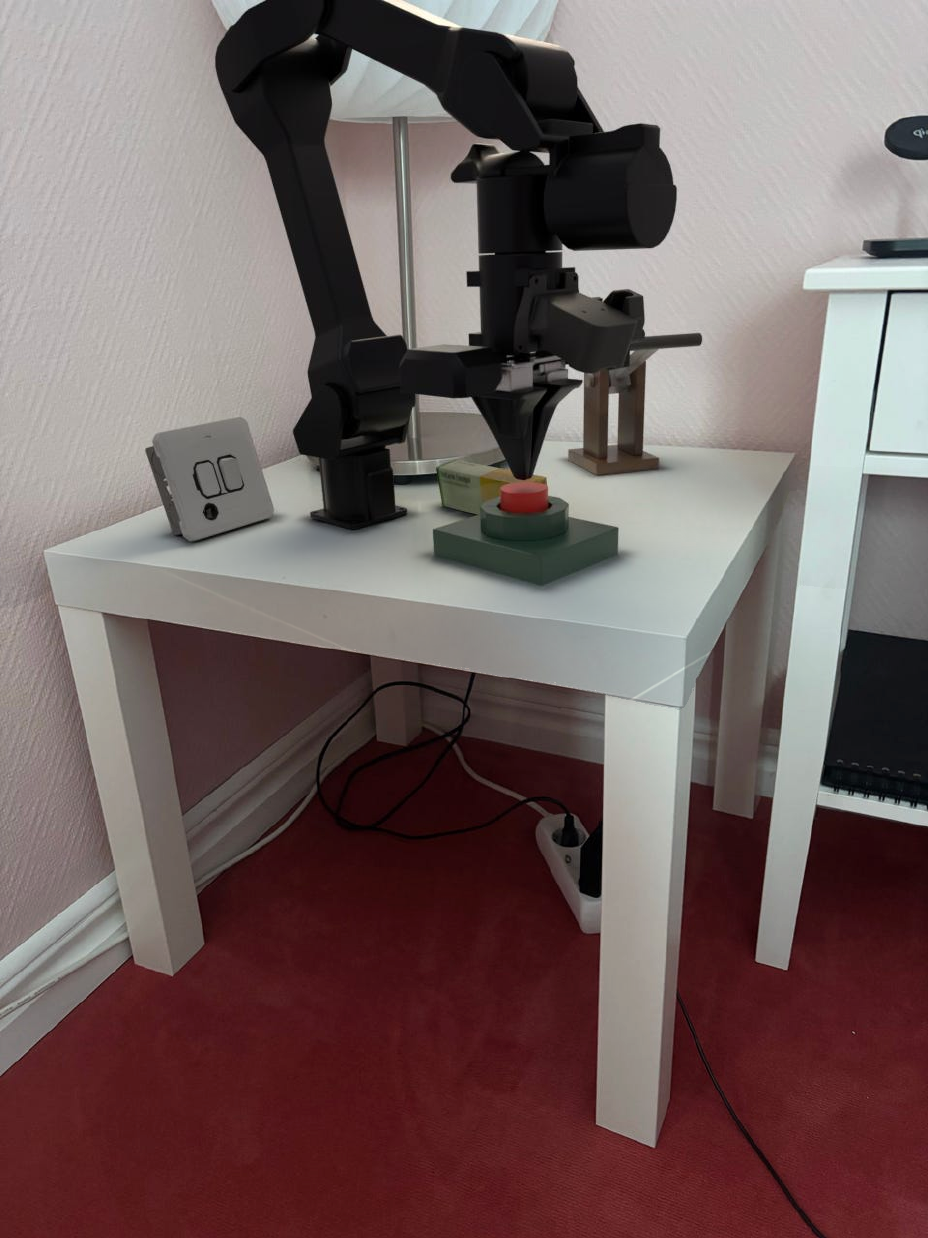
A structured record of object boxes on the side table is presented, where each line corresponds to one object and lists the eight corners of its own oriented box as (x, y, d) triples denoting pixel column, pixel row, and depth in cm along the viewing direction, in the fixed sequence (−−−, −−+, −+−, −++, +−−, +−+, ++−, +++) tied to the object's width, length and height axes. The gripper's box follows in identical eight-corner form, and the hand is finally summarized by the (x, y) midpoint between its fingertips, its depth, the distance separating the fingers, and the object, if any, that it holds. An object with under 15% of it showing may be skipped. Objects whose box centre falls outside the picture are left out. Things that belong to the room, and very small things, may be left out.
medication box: (439, 508, 84) (433, 466, 82) (461, 499, 85) (455, 458, 84) (531, 530, 75) (526, 483, 74) (553, 520, 77) (549, 474, 75)
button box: (433, 556, 71) (430, 506, 69) (511, 529, 76) (510, 482, 75) (541, 586, 63) (541, 531, 62) (618, 554, 69) (619, 503, 68)
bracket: (659, 468, 94) (663, 362, 90) (596, 475, 93) (598, 366, 89) (626, 454, 102) (629, 354, 97) (568, 460, 100) (568, 358, 96)
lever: (704, 349, 84) (700, 324, 85) (614, 356, 82) (610, 330, 82) (650, 390, 96) (646, 368, 96) (570, 397, 94) (567, 374, 94)
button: (490, 511, 68) (490, 488, 68) (522, 501, 71) (521, 479, 70) (526, 519, 66) (526, 496, 65) (558, 508, 68) (558, 486, 68)
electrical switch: (191, 545, 76) (166, 433, 73) (156, 541, 79) (132, 434, 76) (277, 518, 82) (258, 415, 80) (242, 516, 86) (223, 416, 83)
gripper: (517, 255, 50) (521, 526, 56) (698, 245, 62) (685, 469, 68) (386, 259, 58) (402, 498, 64) (570, 250, 70) (569, 452, 76)
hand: (523, 478), depth 68 cm, fingers closed
